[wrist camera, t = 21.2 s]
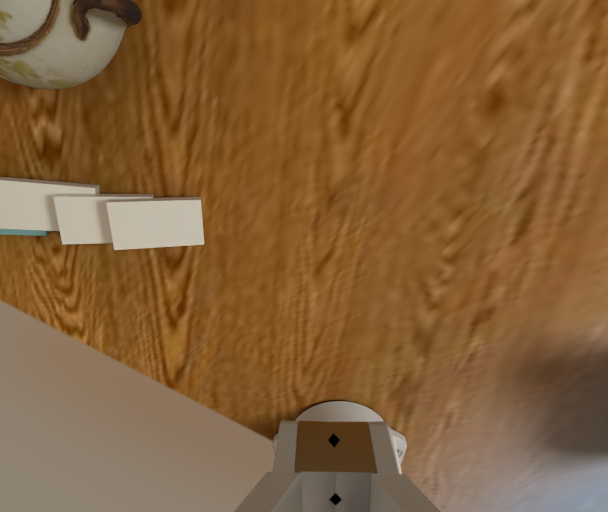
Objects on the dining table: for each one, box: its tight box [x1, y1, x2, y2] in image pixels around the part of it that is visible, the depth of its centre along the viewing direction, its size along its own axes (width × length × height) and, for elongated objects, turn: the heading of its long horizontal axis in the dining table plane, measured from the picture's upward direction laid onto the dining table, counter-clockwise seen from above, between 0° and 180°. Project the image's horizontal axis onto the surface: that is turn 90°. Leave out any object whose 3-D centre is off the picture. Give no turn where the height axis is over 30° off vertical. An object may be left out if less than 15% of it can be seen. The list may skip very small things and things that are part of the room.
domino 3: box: [106, 197, 204, 250], centre depth 37 cm, size 5×2×9 cm
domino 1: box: [0, 177, 100, 231], centre depth 37 cm, size 5×2×9 cm
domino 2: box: [53, 193, 154, 244], centre depth 37 cm, size 5×2×9 cm
